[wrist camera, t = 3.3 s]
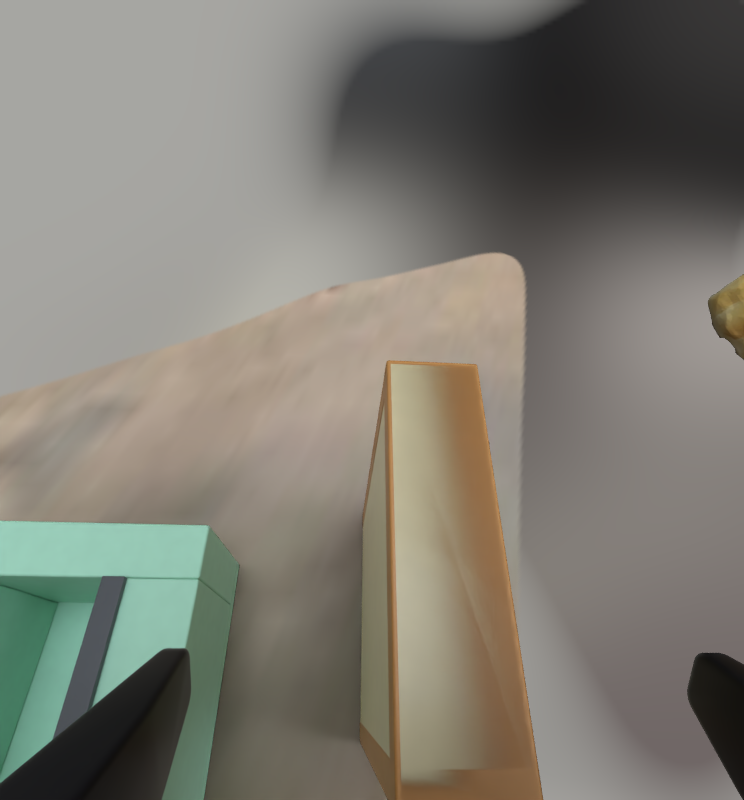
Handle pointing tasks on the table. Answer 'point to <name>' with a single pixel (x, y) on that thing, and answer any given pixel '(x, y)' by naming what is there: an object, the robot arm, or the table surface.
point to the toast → (439, 601)
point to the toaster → (109, 628)
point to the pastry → (729, 314)
